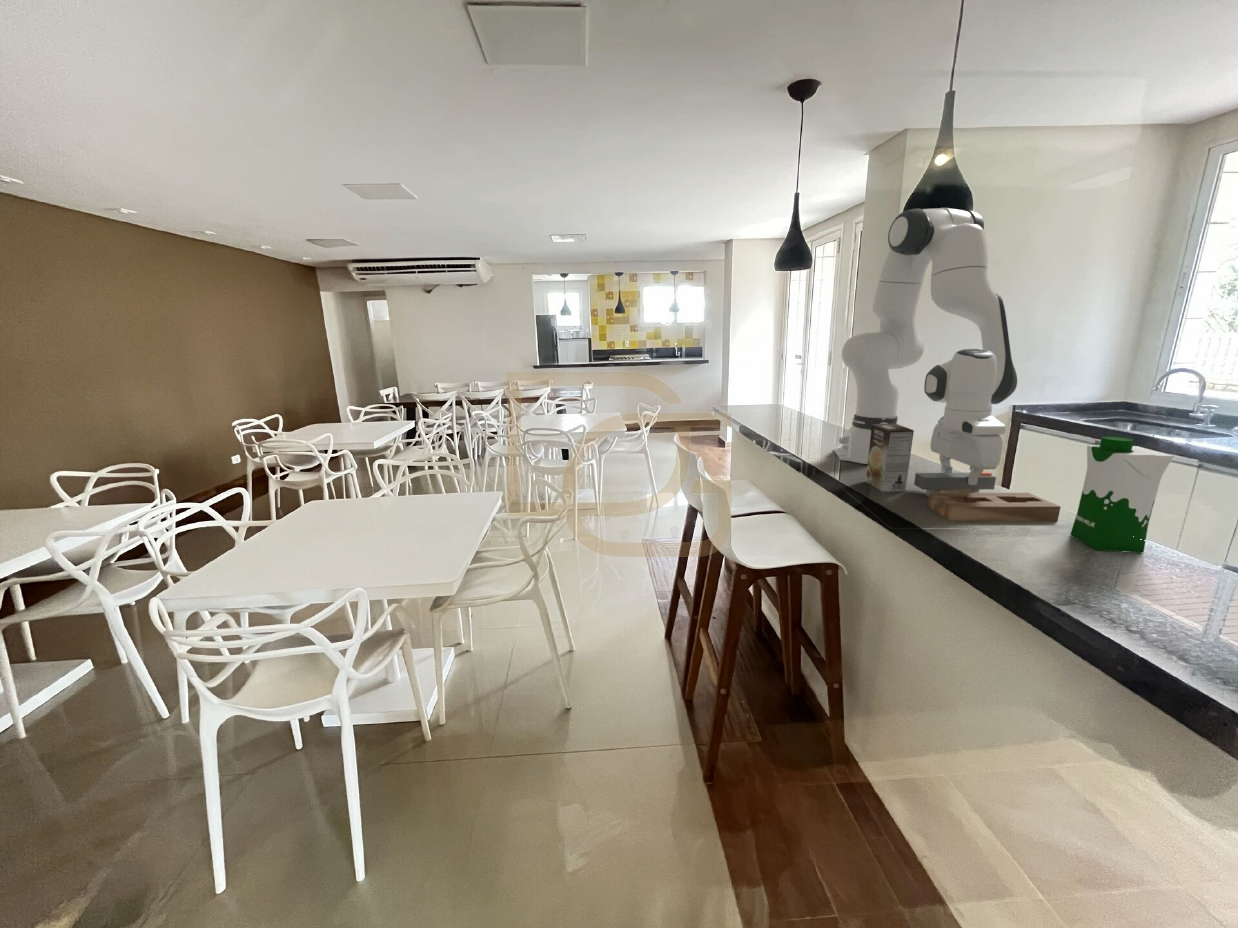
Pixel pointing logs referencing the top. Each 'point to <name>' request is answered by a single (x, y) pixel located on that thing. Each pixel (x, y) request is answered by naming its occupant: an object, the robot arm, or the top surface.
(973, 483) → the robot arm
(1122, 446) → the milk carton
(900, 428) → the coffee box
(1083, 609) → the top surface
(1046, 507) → the keyhole board
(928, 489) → the grey bar
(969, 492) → the block
